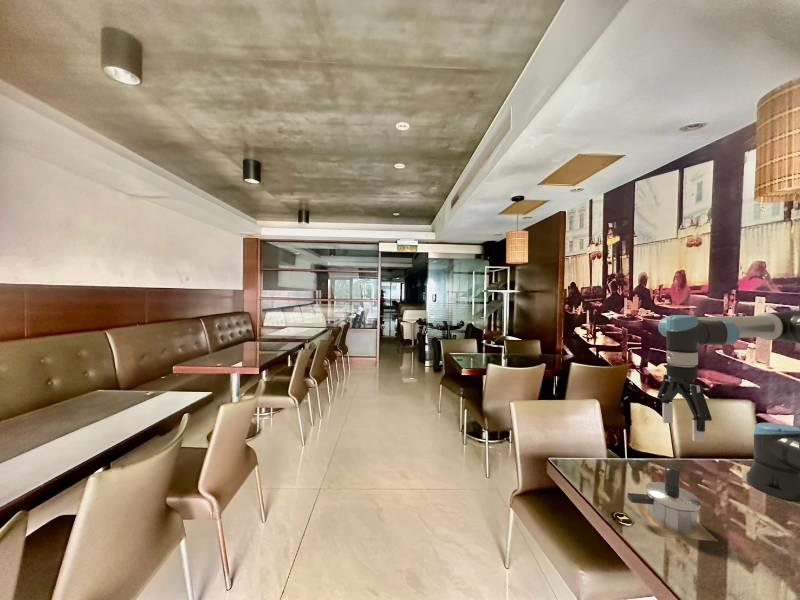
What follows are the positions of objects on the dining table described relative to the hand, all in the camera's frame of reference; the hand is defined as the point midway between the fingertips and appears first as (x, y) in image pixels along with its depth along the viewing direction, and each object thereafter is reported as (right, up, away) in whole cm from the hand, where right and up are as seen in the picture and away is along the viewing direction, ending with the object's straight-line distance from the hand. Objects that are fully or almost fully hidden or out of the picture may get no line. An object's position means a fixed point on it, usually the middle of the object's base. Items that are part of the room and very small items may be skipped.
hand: (681, 431), depth 104 cm
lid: (-6, -19, -3) cm, 20 cm away
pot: (-9, -26, -2) cm, 28 cm away
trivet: (-6, -27, -3) cm, 28 cm away
